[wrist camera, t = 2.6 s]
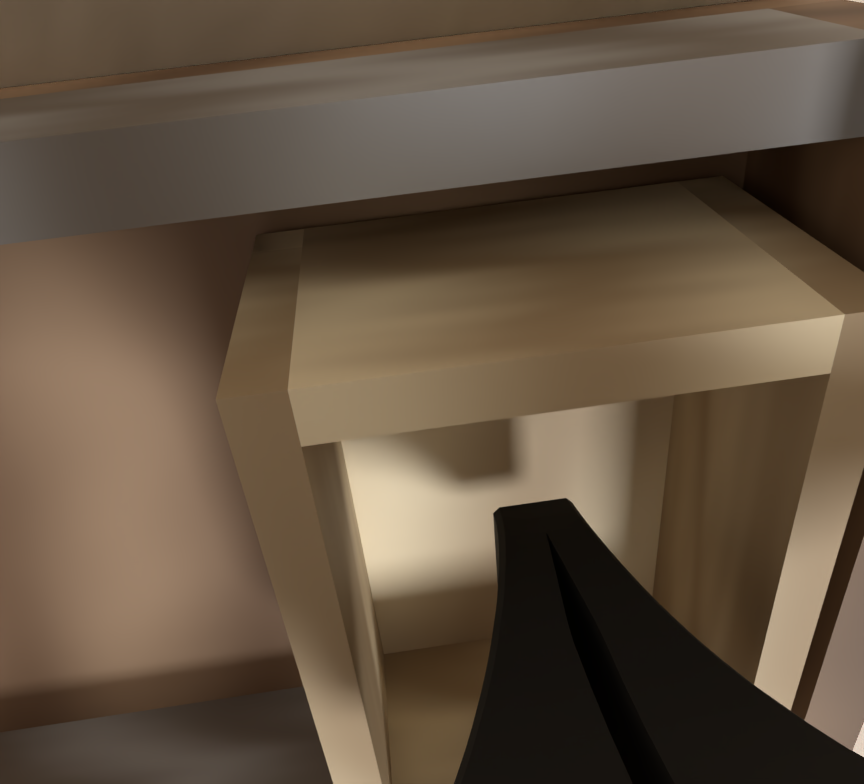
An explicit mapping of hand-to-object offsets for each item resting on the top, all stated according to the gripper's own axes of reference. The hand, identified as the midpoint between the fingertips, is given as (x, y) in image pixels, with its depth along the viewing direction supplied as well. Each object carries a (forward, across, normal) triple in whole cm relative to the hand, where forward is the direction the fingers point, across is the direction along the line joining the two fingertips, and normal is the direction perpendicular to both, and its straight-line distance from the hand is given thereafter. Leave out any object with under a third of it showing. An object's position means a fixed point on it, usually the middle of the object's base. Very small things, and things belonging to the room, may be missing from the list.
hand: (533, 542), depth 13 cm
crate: (+2, 0, 0) cm, 3 cm away
